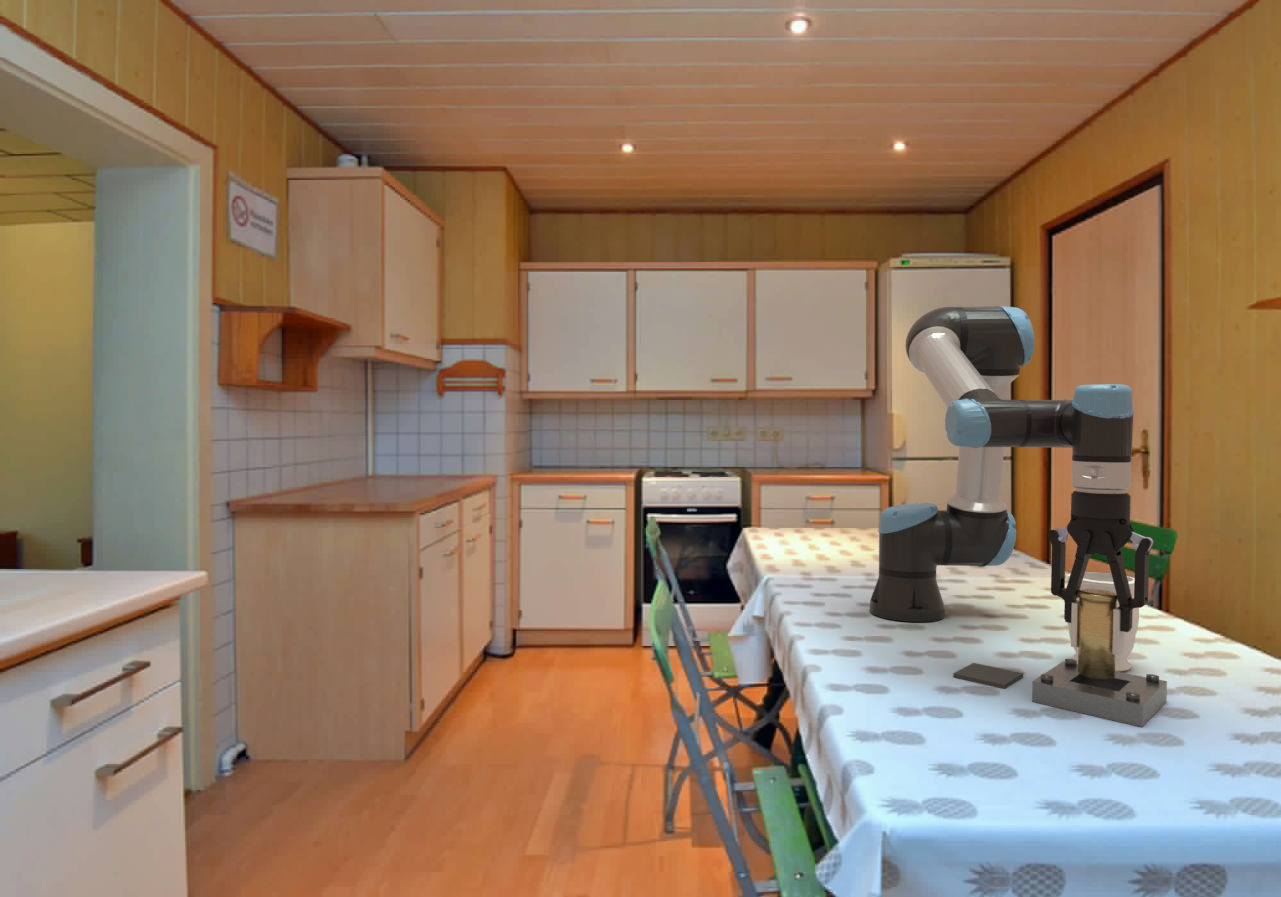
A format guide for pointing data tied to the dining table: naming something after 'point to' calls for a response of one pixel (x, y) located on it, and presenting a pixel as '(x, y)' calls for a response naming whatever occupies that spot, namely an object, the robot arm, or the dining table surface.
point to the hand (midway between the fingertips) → (1096, 648)
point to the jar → (1106, 583)
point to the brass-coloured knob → (1096, 633)
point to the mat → (988, 675)
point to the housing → (1101, 693)
